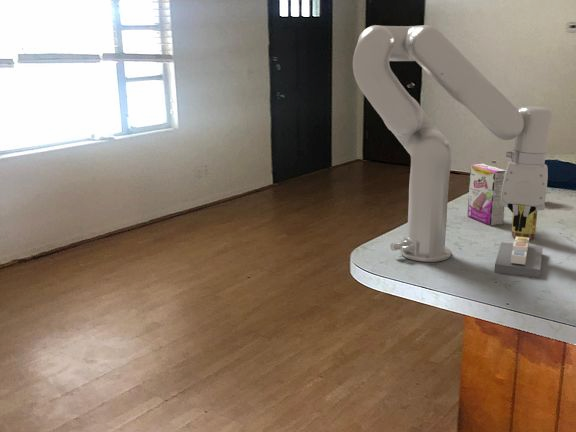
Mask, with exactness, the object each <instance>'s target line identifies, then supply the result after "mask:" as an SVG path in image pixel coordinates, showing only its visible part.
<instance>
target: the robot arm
mask: <svg viewBox="0 0 576 432" xmlns="http://www.w3.org/2000/svg"><path fill="white" fill-rule="evenodd" d="M390 62H416V63H417V64H418V65H419V66H420V67H421V68H422V69H423V71H425V72H426V73H427V74H428V76H430V77H431V78H432V79H433V80H434V81H435V82H436V83H437V85H439V86H440V87H441V89H443V90H444V91H445V92H446V93H447V94H448V95H449V97H451V98H452V99H454V100H455V101H456V102H458V103H460V104H461V105H463V106H464V107H465V108H466V109H467V110H468V111H469V112H470V113H472V114H473V115H474V116H475V117H476V118H477V119H478V120H479V121H480V122H481V123H482V126H483V128H484V129H485V131H487V132H488V133H489V134H491V135H493V136H494V137H495V138H496V139H498V140H500V141H501V140H502V141H511V140H513V139H514V140H513V147H512V150H509V151H506V155H505V157H506V158H510V159H511V160H510V161H508V162H507V165H506V169H505V170H506V171H505V175H504V180H503V186H502V192H501V200H500V202H499V204H500V205H502V206H504V208H505V207H506V208H507V209H509V211H510V213H512V216H513V215H514V219H513V227H515V231H518V228H519V232H522V228H525V226H526V219H527V216H528V215H529V214H531V213H532V212H534V211H538V212H539V211H544V210H545V209H546V203H545V201H546V197H547V191H548V190H547V189H548V178H549V176H548V175H549V173H548V172H549V171H548V170H549V169H548V165H547V164H545V163H546V162H545V161H546V155H547V149H548V142H549V136H550V128H551V122H552V111H551V110H550V109H549V108H548V107H545V106H544V107H543V106H535V105H533V106H531V105H528V106H517V105H514V104H513V103H512V102H511V101H510V100H509V99H508V98H507V97H506V96H505V95H504V94H503V93H502V92H501V91H500V90H499V89H498V88H497V87H496V86H495V85H493V83H492V82H491V81H489V79H488V78H487V77H485V75H484V74H483V73H482V71H480V70H479V69H478V68H477V67H476V66H475V65H474V64H473V63H472V62H471V61H470V60H469V59H468V58H467V57H466V56H465V55H464V54H463V53H462V52H461V50H459V49H458V48H457V47H456V46H455V45H454V44H453V42H451V41H450V40H449V39H448V38H447V37H446V36H445V34H443V32H441V31H440V30H439V29H437V27H435V26H433V25H430V24H429V25H428V24H425V25H424V24H423V25H409V26H407V25H406V26H405V25H404V26H403V25H399V26H398V25H379V24H378V25H376V24H374V25H370V26H369V27H367V28H365V29H364V30H363V31H362V32H361V33H360V34H359V37H358V40H357V44H356V46H355V49H354V53H353V57H352V70H353V72H352V73H353V77H354V79H355V82H356V83H357V86H358V87H359V90H360V91H361V92H362V94H363V95H364V96H365V98H366V99H367V101H368V102H369V103H370V105H371V106H372V107H373V109H374V111H376V113H377V114H378V115H379V117H380V118H381V119H382V121H383V123H384V124H385V126H386V127H387V129H388V130H389V131H391V133H392V134H393V135H394V137H395V138H396V139H397V140H398V142H399V143H400V144H401V146H403V148H404V149H405V150H406V152H407V153H408V154H409V156H410V173H409V186H408V208H407V209H408V213H407V214H408V215H407V235H405V236H403V240H401V241H399V242H391V243H390V246H389V247H390V250H391V251H392V252H394V251H399V250H400V254H401V255H402V256H403V257H405V258H406V259H409V260H412V261H416V262H425V263H434V262H441V261H445V260H448V259H449V258H451V256H452V251H451V249H450V248H449V247H448V246H446V235H447V217H448V216H447V215H448V200H449V198H448V197H449V185H450V184H449V183H450V181H449V180H450V173H451V166H452V159H453V153H452V152H453V150H452V146H451V143H450V141H449V140H448V138H447V137H446V136H445V135H444V134H443V133H442V132H441V131H440V130H439V129H438V128H437V127H436V125H435V123H433V122H432V120H431V119H430V118H429V116H428V115H427V114H426V112H425V110H423V109H422V107H421V105H420V103H419V102H418V101H417V99H415V98H414V97H413V96H412V95H410V94H409V93H410V92H408V91H407V90H406V88H405V87H404V85H402V83H401V82H400V81H399V79H398V77H397V76H396V74H395V73H394V72H393V70H392V68H391V66H390ZM519 205H525V209H524V211H523V212H522V214H521V217H520V211H519ZM519 221H520V224H519Z"/></svg>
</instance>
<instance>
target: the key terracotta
mask: <svg viewBox="0 0 576 432" xmlns="http://www.w3.org/2000/svg"><path fill="white" fill-rule="evenodd" d="M527 248H528V243H523V242H515V241H513V251H522V252H527ZM526 255H527V254H526Z"/></svg>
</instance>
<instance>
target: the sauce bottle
mask: <svg viewBox="0 0 576 432" xmlns="http://www.w3.org/2000/svg"><path fill="white" fill-rule="evenodd" d="M524 209H525V205H519V211H520V217H521V214H522V212H523V211H524ZM538 212H539V211H534V212H532V213H531V214H529V215H528V216H527V219H526V226H525V228H522V232H519V228H518V231H515V227H513V219H514V215H513V214H512V218H511V219H512V220H511V231H512V232H511V237H512V238H514V239H515V238H516V236H517V237H527V238H529V240H533V239H534V238H535V235H536V232H537V220H538V218H537V217H538ZM519 224H520V221H519Z"/></svg>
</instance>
